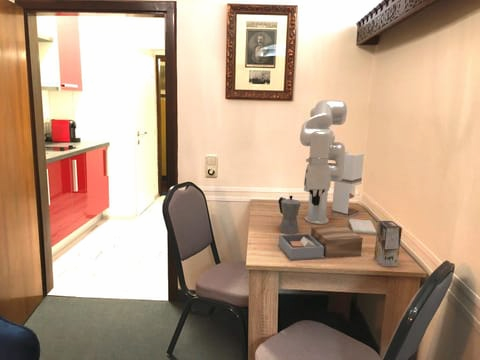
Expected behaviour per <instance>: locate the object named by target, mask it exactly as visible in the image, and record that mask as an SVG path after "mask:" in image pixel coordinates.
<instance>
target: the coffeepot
mask: <svg viewBox="0 0 480 360" xmlns="http://www.w3.org/2000/svg"><path fill="white" fill-rule="evenodd" d="M278 206H279V212H280V214H282V218H281V221H280V222H281V223H280V227H279V231H280V233H282V234H284V235H291V234H298V232H299V225H298V224H299V223H298V217H297V216H299V210H300V207H301V201H299V200H298V199H294V198H293V195H289V198H285V197H282V196H281V197H279V198H278Z"/></svg>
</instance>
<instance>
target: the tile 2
mask: <svg viewBox="0 0 480 360" xmlns="http://www.w3.org/2000/svg"><path fill="white" fill-rule="evenodd" d="M300 242H301V243H302V244H303V246H304V247H316V246H315V245H314V243H313V242H312V241H310V240H308V239H307V238H305V237H303V238H302V239H301V241H300Z"/></svg>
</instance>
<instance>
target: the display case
mask: <svg viewBox="0 0 480 360" xmlns="http://www.w3.org/2000/svg"><path fill="white" fill-rule="evenodd" d="M364 161H365V153H357V154H350V153H349V151H345V161H344V174H343V179H342V180H341V181H339V182H334V181H333V182H334V183H333V192H332V194H333V195H332V196H333V197H332V207H331V214H332V213H333V214H332V215H336V214H337V215H336V216H340V215H341V216H340V217H343V216H344V218H347V217H348V218H352V217H354V216H356V215H359V212H360V211H359V210H358V209H355V208H349V207H350V206H349V205H350V199H354V197H355V194H356V186H358V185H361V184H362V181H363V171H364ZM348 218H347V219H348Z"/></svg>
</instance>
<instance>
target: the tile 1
mask: <svg viewBox="0 0 480 360" xmlns="http://www.w3.org/2000/svg"><path fill="white" fill-rule="evenodd" d="M290 246H291V247H292V248H303V247H304V246H303V244H302V243H301V242H300V241H290Z"/></svg>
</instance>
